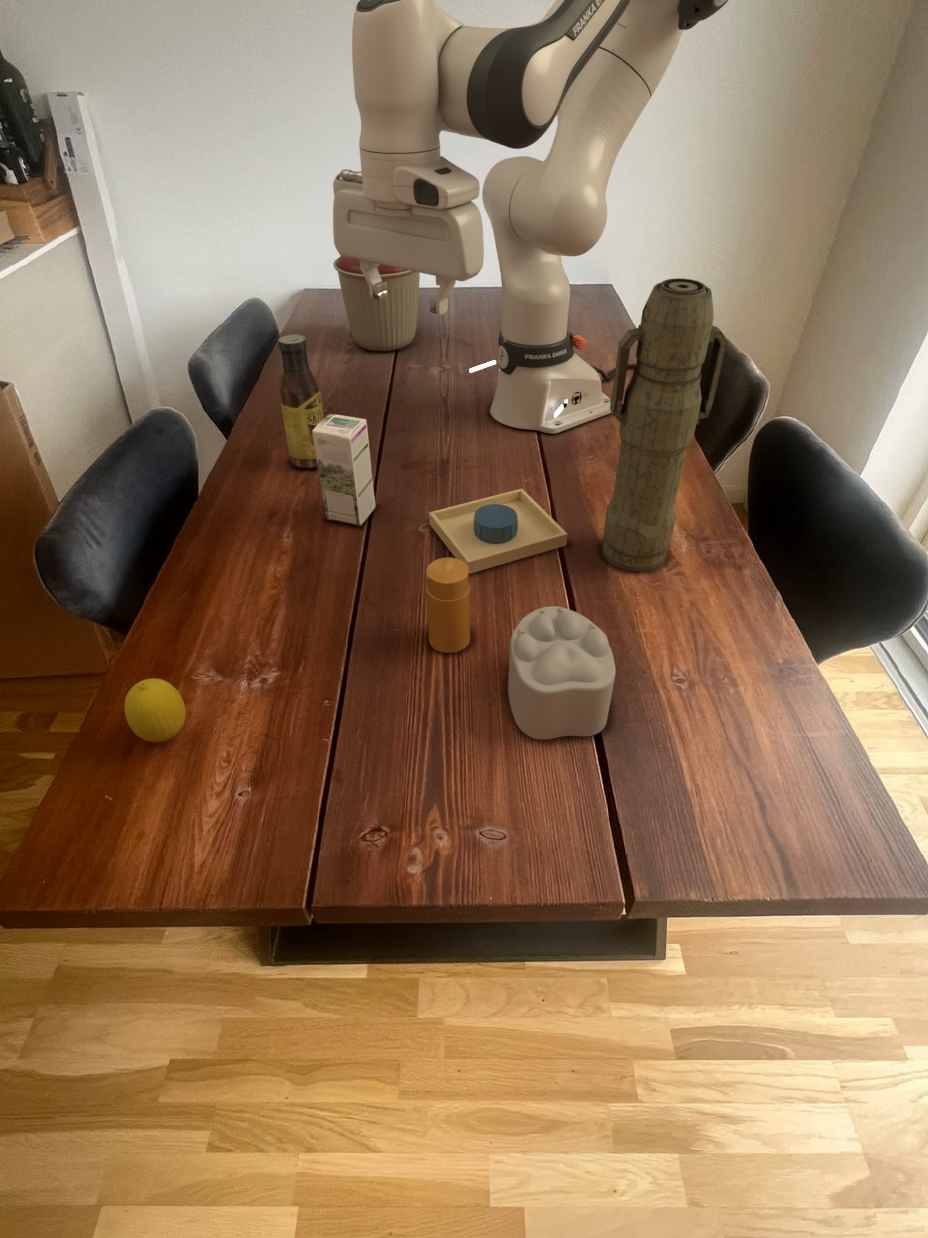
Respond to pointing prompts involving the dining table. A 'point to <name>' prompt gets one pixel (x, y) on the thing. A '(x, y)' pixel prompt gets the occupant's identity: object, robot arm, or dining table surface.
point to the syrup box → (344, 468)
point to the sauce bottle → (299, 401)
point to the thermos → (659, 418)
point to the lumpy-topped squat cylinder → (559, 674)
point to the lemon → (154, 710)
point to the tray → (530, 539)
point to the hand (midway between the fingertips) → (408, 305)
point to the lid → (495, 523)
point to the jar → (448, 604)
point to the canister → (379, 305)
